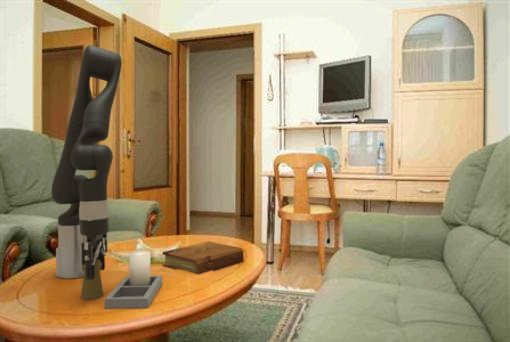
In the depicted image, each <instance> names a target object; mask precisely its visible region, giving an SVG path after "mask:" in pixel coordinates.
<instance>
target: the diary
mask: <svg viewBox="0 0 510 342" xmlns="http://www.w3.org/2000/svg"><path fill="white" fill-rule="evenodd" d="M162 255H163V256H164V258H165V259H164V260H165V261H164V264H162V266H163V267H165V268H169V269H172V270H178V271H181V270H185V271H189V272H192V273H195V275H201V274H203V273H207V272H210V271H217V270H221V269H224V268H227V267H229V266H234V265H238V264H240V263H243V262H244V260H245V259H244V258H245V257H244V255H245V254H244V249H243V248H242V247H237V246H233V245H228V244H225V243H219V242H216V241H215V242H214V241H210V240H208V241H205V242H199V243H195V244H191V245H187V246H183V247H178V248H175V249H170V250H165V251H162Z"/></svg>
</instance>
